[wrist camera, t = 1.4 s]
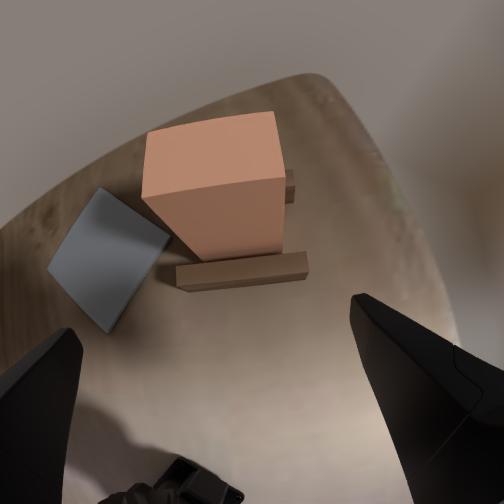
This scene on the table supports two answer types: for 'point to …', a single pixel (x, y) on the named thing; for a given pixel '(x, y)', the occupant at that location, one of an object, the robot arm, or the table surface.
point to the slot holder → (246, 266)
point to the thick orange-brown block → (219, 185)
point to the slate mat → (106, 257)
